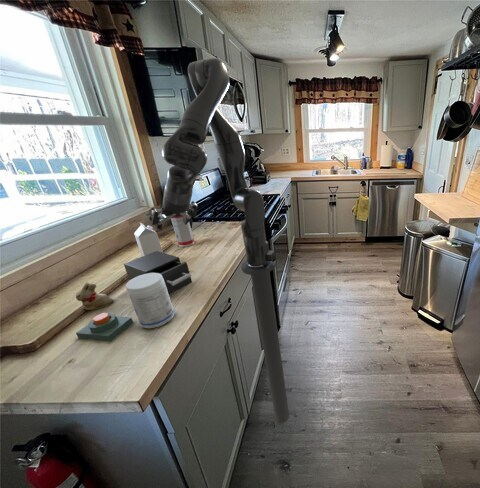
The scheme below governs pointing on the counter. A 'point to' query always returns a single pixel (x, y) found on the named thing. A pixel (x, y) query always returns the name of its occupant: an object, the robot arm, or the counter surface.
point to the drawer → (175, 276)
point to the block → (105, 329)
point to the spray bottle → (182, 232)
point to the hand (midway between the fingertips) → (172, 225)
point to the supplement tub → (150, 300)
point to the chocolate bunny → (92, 297)
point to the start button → (101, 318)
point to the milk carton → (147, 240)
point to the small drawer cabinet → (148, 263)
